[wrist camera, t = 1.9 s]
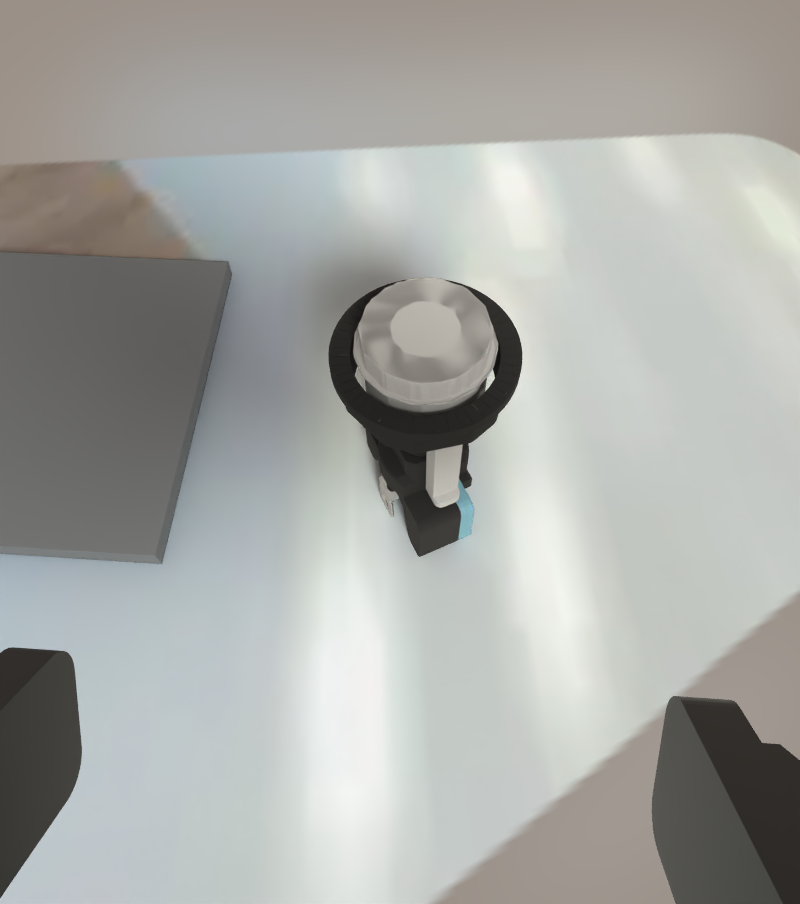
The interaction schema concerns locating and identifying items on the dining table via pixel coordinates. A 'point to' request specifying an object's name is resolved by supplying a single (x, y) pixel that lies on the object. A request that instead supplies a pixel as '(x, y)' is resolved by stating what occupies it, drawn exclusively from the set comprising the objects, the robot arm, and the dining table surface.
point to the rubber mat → (100, 398)
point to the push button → (425, 393)
